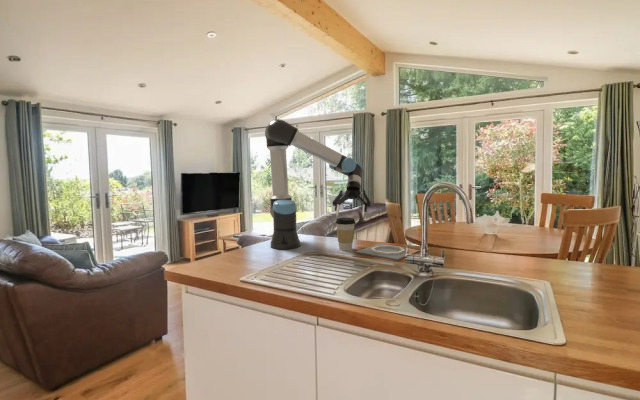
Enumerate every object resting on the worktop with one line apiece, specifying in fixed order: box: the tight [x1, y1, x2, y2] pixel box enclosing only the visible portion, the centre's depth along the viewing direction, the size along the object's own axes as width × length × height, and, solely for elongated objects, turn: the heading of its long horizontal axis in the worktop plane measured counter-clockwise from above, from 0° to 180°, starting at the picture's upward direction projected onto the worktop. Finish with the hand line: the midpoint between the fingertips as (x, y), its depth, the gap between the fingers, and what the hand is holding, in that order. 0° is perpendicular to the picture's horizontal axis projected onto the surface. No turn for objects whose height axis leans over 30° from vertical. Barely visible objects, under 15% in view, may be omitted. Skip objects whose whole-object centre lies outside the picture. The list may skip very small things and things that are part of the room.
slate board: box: [355, 243, 407, 261], centre depth 166 cm, size 22×22×1 cm
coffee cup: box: [335, 217, 356, 252], centre depth 171 cm, size 10×10×15 cm
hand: (349, 216), depth 179 cm, fingers open, 13 cm apart
